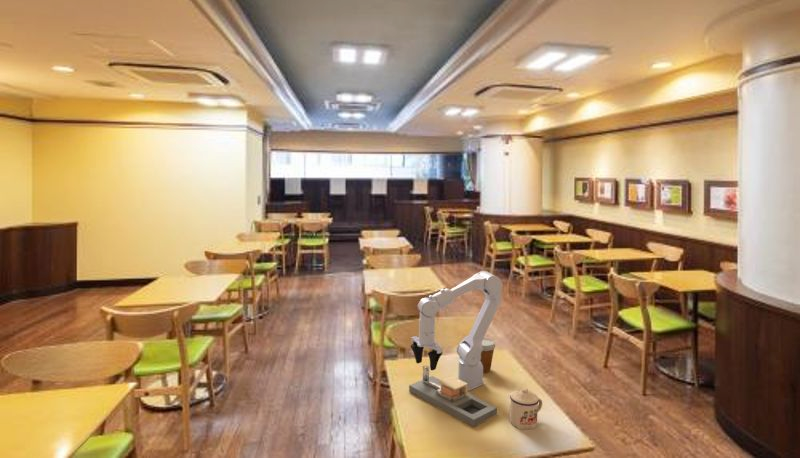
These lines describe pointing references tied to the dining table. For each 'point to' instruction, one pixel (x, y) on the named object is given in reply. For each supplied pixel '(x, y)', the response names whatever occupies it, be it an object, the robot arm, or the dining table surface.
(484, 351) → the disposable coffee cup
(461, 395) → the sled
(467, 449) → the dining table surface
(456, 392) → the terracotta block
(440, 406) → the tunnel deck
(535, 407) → the teacup with lid
